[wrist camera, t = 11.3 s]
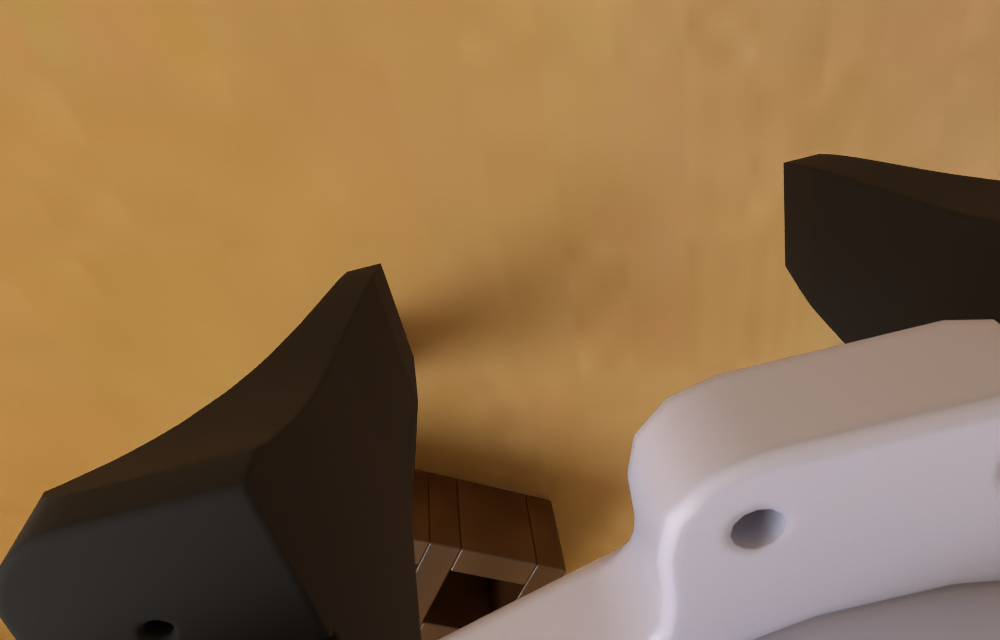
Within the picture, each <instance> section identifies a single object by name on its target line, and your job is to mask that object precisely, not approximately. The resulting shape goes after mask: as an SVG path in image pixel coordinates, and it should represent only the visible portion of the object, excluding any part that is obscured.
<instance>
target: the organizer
mask: <svg viewBox="0 0 1000 640" xmlns="http://www.w3.org/2000/svg"><path fill="white" fill-rule="evenodd" d="M413 537H414V553H415V569H416V581H417V594H418V606H419V618H420V629H421V639H422V640H439V639H441V638H443V637H444V636H446V635H448V634H450V633H452V632H454V631H456V630H458V629H460V628H462V627H464V626H466V625H468V624H470V623H472V622H474V621H476V620H478V619H480V618H482V617H484V616H486V615H488V614H490V613H492V612H494V611H496V610H498V609H500V608H502V607H504V606H506V605H507V604H509V603H511V602H513V601H515V600H517V599H519V598H521V597H523V596H525V595H527V594H529V593H531V592H533V591H535V590H537V589H539V588H541V587H543V586H545V585H547V584H549V583H551V582H553V581H555V580H557V579H559V578H561V577H563V575H564V573H565V572H566V567H565V563H564V558H563V554H562V549H561V545H560V540H559V535H558V531H557V526H556V522H555V517H554V513H553V508H552V504H551V501H547V500H543V499H539V498H534V497H530V496H524V495H521V494H516V493H512V492H508V491H504V490H499V489H495V488H491V487H486V486H482V485H478V484H473V483H469V482H465V481H460V480H457V481H456V480H455V479H452V478H447V477H443V476H439V475H434V474H430V473H429V474H428V473H427V472H423V471H418V470H414V485H413Z"/></svg>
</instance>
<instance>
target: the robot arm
mask: <svg viewBox="0 0 1000 640" xmlns="http://www.w3.org/2000/svg"><path fill="white" fill-rule="evenodd" d="M784 212H785V266H786V268H787V269H788V271H789V273H790V274H791V276H792V277H793V279H794V281H795V282H796V284H797V286H798V287H799V289H800V290H801V292H802V293H803V295H804V296H805V298H806V299H807V301H808V302H809V304H810V305H811V306H812V308H813V309H814V310H815V311H816V312H817V313H818V314H819V316H820V317H821V318H822V319H823V320H824V321H825V322H826V323H827V324H828V326H829V327H830V328H831V329H832V330H833V331H834V332H835V333H836V334H837V336H838V337H839V338H840V339H841V340H842V341H843V342H844V343H845V344H843V345H838V346H834V347H830V348H826V349H822V350H818V351H814V352H809V353H805V354H801V355H797V356H793V357H789V358H785V359H780V360H776V361H772V362H768V363H764V364H760V365H756V366H751V367H747V368H743V369H739V370H735V371H731V372H727V373H722V374H718V375H715V376H713V377H711V378H709V379H706V380H704V381H702V382H700V383H698V384H696V385H694V386H691V387H689V388H687V389H685V390H683V391H681V392H678V393H676V394H674V395H672V396H670V397H668V398H666V399H665V400H664V401H663V402H662V404H661V405H660V406H659V407H658V408H657V409H656V410H655V412H654V413H653V414H652V415H651V416H650V417H649V418H648V420H647V421H646V422H645V423H644V424H643V425H642V426H641V428H640V429H639V430H638V431H637V432H636V433H635V434H634V437H633V443H632V449H631V455H630V461H629V466H628V472H627V476H628V482H629V487H630V493H631V498H632V504H633V510H634V530H633V533H632V536H631V538H630V539H629V540H628V541H627V542H626V543H625V544H624V545H623V546H622V547H620V548H618V549H616V550H614V551H612V552H610V553H608V554H606V555H604V556H602V557H600V558H598V559H596V560H594V561H592V562H590V563H588V564H586V565H584V566H582V567H580V568H578V569H576V570H574V571H572V572H570V573H569V574H567V575H565V576H563V577H561V578H559V579H557V580H555V581H553V582H551V583H549V584H547V585H545V586H543V587H541V588H539V589H537V590H535V591H533V592H531V593H529V594H527V595H525V596H523V597H521V598H519V599H517V600H515V601H513V602H511V603H509V604H507V605H506V606H504V607H502V608H500V609H498V610H496V611H494V612H492V613H490V614H488V615H486V616H484V617H482V618H480V619H478V620H476V621H474V622H472V623H470V624H468V625H466V626H464V627H462V628H460V629H458V630H456V631H454V632H452V633H450V634H448V635H446V636H444V637H443V638H441V639H439V640H1000V181H999V180H991V179H984V178H976V177H969V176H961V175H954V174H948V173H942V172H935V171H929V170H924V169H918V168H912V167H907V166H901V165H896V164H890V163H885V162H879V161H874V160H868V159H862V158H856V157H849V156H842V155H831V154H817V155H813V156H809V157H805V158H801V159H797V160H793V161H789V162H785V163H784ZM417 411H418V397H417V385H416V375H415V366H414V357H413V354H412V351H411V348H410V345H409V343H408V340H407V337H406V334H405V331H404V328H403V326H402V323H401V320H400V317H399V314H398V311H397V309H396V306H395V303H394V300H393V297H392V294H391V291H390V289H389V286H388V283H387V280H386V277H385V274H384V272H383V269H382V266H381V264H377V265H373V266H369V267H365V268H361V269H357V270H353V271H349V272H347V273H345V274H344V275H343V276H342V277H341V278H340V279H339V280H338V281H337V282H336V283H335V285H334V286H333V287H332V288H331V289H330V290H329V291H328V293H327V294H326V295H325V296H324V297H323V298H322V300H321V301H320V302H319V303H318V304H317V305H316V306H315V308H314V309H313V310H312V311H311V312H310V313H309V314H308V316H307V317H306V318H305V319H304V320H303V321H302V322H301V324H300V325H299V326H298V327H297V328H296V329H295V330H294V331H293V332H292V333H291V334H290V335H289V336H288V337H287V338H286V339H285V340H284V341H283V342H282V343H281V344H280V345H279V346H278V347H277V348H276V349H275V350H274V351H273V352H272V353H271V354H270V355H269V356H268V357H267V358H266V359H265V360H264V361H263V362H262V363H261V364H260V365H258V366H257V367H256V368H255V369H254V370H253V371H252V372H250V373H249V374H248V375H247V376H245V377H244V378H243V379H242V380H241V381H239V382H238V383H237V384H236V385H234V386H233V387H232V388H231V389H229V390H228V391H227V392H225V393H224V394H223V395H221V396H220V397H218V398H217V399H215V400H214V401H213V402H211V403H210V404H208V405H207V406H205V407H204V408H202V409H201V410H199V411H198V412H197V413H195V414H194V415H192V416H191V417H189V418H188V419H186V420H185V421H183V422H182V423H180V424H179V425H177V426H175V427H174V428H172V429H170V430H169V431H167V432H165V433H164V434H162V435H160V436H158V437H157V438H155V439H153V440H151V441H150V442H148V443H146V444H144V445H142V446H140V447H139V448H137V449H135V450H133V451H131V452H129V453H128V454H126V455H124V456H122V457H120V458H118V459H116V460H114V461H112V462H110V463H108V464H105V465H103V466H101V467H99V468H97V469H95V470H92V471H90V472H88V473H86V474H84V475H81V476H79V477H77V478H75V479H73V480H71V481H68V482H66V483H64V484H62V485H60V486H57V487H55V488H53V489H50V490H48V491H46V492H44V493H43V495H42V497H41V499H40V500H39V502H38V504H37V505H36V507H35V509H34V510H33V512H32V514H31V515H30V517H29V519H28V520H27V522H26V524H25V525H24V527H23V529H22V530H21V532H20V534H19V535H18V537H17V539H16V540H15V542H14V544H13V545H12V547H11V549H10V550H9V552H8V554H7V555H6V557H5V559H4V560H3V562H2V564H1V565H0V618H1V619H2V620H3V622H4V623H5V625H6V626H7V627H8V629H9V630H10V632H11V633H12V635H13V636H14V637H15V639H16V640H422V639H421V629H420V618H419V606H418V594H417V581H416V569H415V553H414V537H413V485H414V467H415V450H416V432H417Z"/></svg>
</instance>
